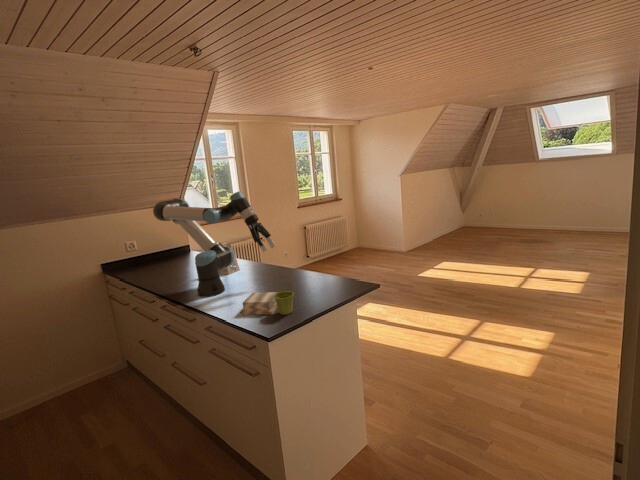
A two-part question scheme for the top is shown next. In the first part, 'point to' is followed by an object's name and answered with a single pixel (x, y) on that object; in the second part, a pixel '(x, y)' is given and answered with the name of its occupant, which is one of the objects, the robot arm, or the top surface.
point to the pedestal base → (260, 303)
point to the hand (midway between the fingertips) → (269, 249)
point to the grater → (229, 269)
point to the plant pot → (284, 302)
